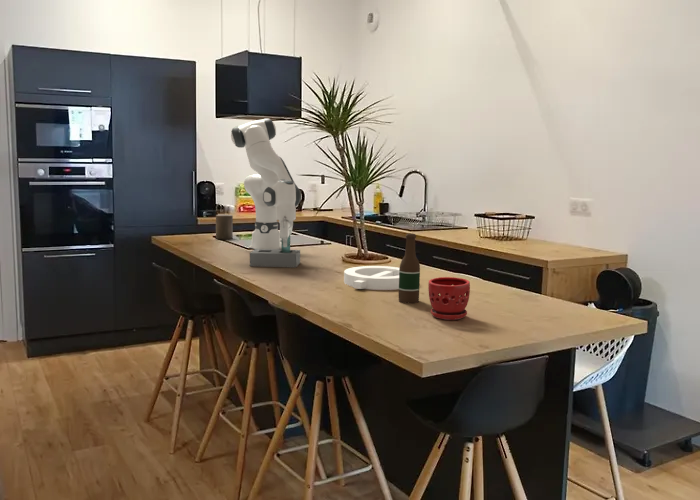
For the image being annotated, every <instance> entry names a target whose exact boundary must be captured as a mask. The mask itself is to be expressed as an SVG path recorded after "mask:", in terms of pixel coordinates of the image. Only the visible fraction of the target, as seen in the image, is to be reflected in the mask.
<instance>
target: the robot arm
mask: <svg viewBox="0 0 700 500" xmlns="http://www.w3.org/2000/svg"><path fill="white" fill-rule="evenodd" d="M230 131H231V132H230V137H231V141H232V143H233V144H234V146H235V147H237V148H240V149H241V148H245V152H246V155H247V159H248V164H249V167H250V168H251V169H252V170H253V171H255V172H256V173H254V174H250V175H247V176H246V177H245V179H244V182H243V186H244V189H245V192H246V193H248V195H250V196H251V199H252V201H253V202H254V207H255V209H254V210H255V221H254V228H255V229H254V230H253V231H252V233H251V244H250V245H249V246H248V248H249V249H253V250H254V249H281V239H283V247H287V239H288V237H289V236H290V237H291V234H292V233H293V226H294V221H295V220H297V218H296V217H297V209H296V208H297V206H298V205H299V204H300V202H301V201H302V192H301V189H300V188H299V187H298V186H297V184H296V183H295V181H294V179H293V176H292V175H291V173H290V171H289V169H288V167H287V165H286V163H285V161H284V159H283V158H282V157H281V156H279V155H278V153H276V151H275V150H274V148H273V146H272V144H271V141H270V140H272V139H274V138H275V137H276V136H277V126H276V124H275V123H274V121H273V120H272V119H271V118H266V117H265V118H263V119H256V120H252V121H250V122H246V123H244V124H241V125H237V126H235V127H233V128H232V129H231V130H230Z"/></svg>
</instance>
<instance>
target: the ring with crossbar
mask: <svg viewBox="0 0 700 500" xmlns="http://www.w3.org/2000/svg"><path fill="white" fill-rule="evenodd" d="M399 269H400V267H397V266H389V265H388V266H387V265H366V266H365V265H364V266H363V265H362V266H353V267H349V268H346V269H344V271H343V283H344V284H345V285H346V284H347V285H346V286H348V285H349V287H352V288H353V289H359V290H374V291H376V290H377V291H388V290H389V291H394V290H399Z"/></svg>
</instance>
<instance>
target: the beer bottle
mask: <svg viewBox="0 0 700 500" xmlns="http://www.w3.org/2000/svg"><path fill="white" fill-rule="evenodd" d="M405 238H406V240H405V249H404V250H405V251H404V256H403V257H402V259H401V261H400V263H399V268H400V269H399V289H398V302H399V303H402V304H416V303H419V302H420V301H419V300H420V280H421V279H420V277H421V267H420V266H421V264H420V261H419V259H418V257H417V253H416V238H417V236H416V233H411V232H410V233H406V234H405Z"/></svg>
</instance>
